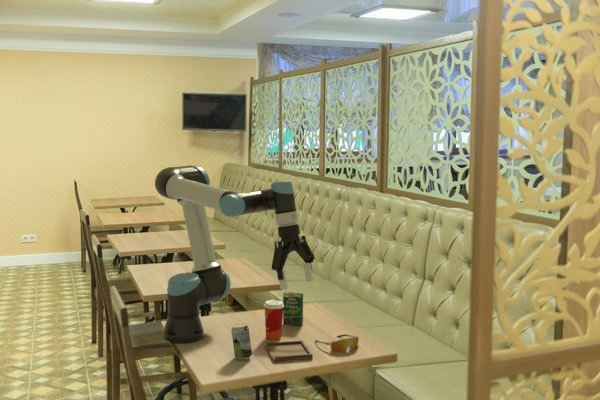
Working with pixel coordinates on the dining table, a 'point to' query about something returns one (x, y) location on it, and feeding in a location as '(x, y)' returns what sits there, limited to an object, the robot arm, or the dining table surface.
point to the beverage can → (241, 341)
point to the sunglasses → (342, 343)
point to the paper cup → (273, 319)
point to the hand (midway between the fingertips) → (297, 285)
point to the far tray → (288, 351)
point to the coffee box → (293, 308)
